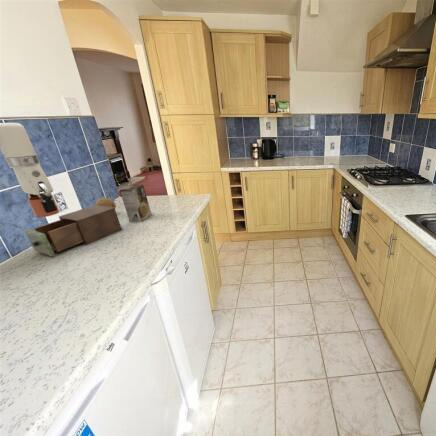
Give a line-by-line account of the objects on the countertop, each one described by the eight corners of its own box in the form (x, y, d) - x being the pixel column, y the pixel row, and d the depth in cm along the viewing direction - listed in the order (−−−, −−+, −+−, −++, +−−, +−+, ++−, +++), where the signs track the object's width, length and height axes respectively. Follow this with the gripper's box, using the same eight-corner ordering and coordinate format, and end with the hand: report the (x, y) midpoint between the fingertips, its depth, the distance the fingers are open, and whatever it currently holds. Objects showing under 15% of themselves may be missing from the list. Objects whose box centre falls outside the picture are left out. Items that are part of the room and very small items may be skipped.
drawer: (47, 258, 87) (36, 236, 84) (30, 252, 92) (19, 231, 88) (91, 239, 100) (83, 220, 96) (74, 235, 104) (66, 216, 100)
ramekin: (53, 209, 94) (46, 193, 92) (63, 211, 92) (56, 195, 89) (31, 216, 89) (23, 199, 86) (41, 218, 86) (33, 201, 84)
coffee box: (140, 214, 127) (131, 184, 120) (152, 214, 127) (143, 184, 120) (128, 221, 118) (118, 190, 112) (141, 221, 118) (132, 189, 112)
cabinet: (86, 244, 98) (76, 220, 94) (68, 239, 103) (58, 216, 98) (122, 229, 110) (114, 207, 106) (104, 225, 115) (96, 204, 111)
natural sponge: (120, 215, 126) (114, 197, 122) (100, 220, 120) (92, 202, 116) (116, 211, 132) (110, 193, 128) (96, 216, 126) (89, 198, 122)
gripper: (51, 160, 82) (71, 209, 90) (25, 158, 89) (46, 204, 96) (21, 165, 76) (46, 217, 83) (-4, 162, 82) (21, 211, 90)
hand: (46, 209), depth 90 cm, fingers closed on ramekin, 6 cm apart
